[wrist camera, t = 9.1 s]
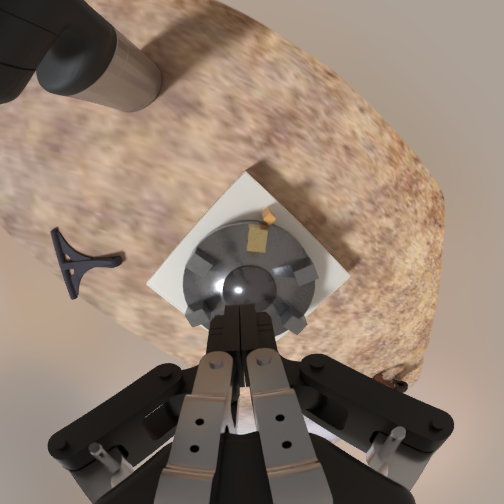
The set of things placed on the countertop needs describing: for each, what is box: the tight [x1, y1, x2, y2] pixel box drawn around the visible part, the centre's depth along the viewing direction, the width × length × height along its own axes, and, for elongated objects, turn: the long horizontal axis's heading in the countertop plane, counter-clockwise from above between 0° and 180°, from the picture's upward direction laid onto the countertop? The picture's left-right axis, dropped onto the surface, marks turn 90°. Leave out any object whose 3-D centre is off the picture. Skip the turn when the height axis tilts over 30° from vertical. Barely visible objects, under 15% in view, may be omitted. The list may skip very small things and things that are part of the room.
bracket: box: [51, 230, 122, 300], centre depth 43 cm, size 14×15×3 cm
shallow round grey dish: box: [183, 220, 319, 337], centre depth 41 cm, size 20×20×5 cm
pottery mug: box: [373, 374, 408, 393], centre depth 56 cm, size 12×10×8 cm
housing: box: [147, 170, 351, 341], centre depth 43 cm, size 24×24×7 cm
